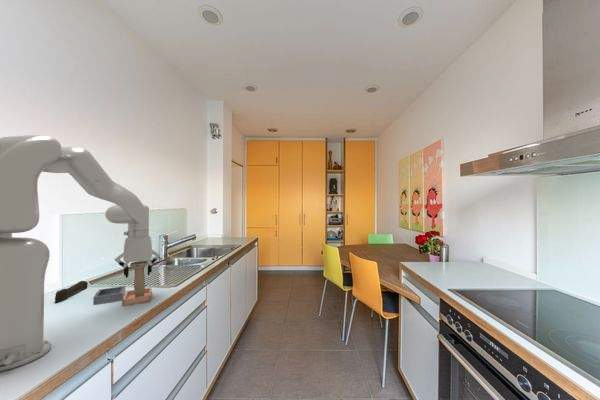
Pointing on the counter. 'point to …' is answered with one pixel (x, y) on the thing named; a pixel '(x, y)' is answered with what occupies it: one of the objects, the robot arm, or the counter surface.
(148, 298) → the tray
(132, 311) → the counter surface
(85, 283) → the hand tool
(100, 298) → the collar
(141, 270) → the handle
